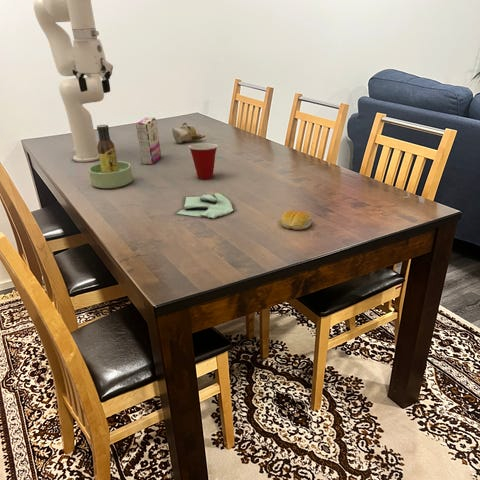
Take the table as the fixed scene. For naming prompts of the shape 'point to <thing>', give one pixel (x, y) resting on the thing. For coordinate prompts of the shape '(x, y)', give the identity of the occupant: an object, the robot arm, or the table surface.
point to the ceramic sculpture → (186, 133)
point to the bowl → (111, 176)
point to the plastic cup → (204, 159)
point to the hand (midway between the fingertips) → (95, 91)
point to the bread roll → (296, 220)
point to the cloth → (207, 206)
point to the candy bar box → (148, 140)
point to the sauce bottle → (106, 151)
